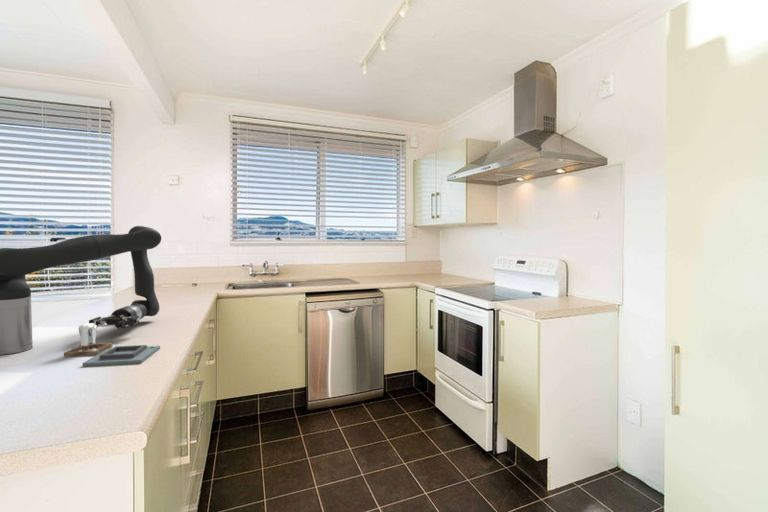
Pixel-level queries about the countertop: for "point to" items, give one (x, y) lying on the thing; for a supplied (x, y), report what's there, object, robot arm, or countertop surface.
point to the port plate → (122, 355)
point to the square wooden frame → (77, 351)
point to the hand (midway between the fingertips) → (104, 326)
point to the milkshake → (88, 336)
